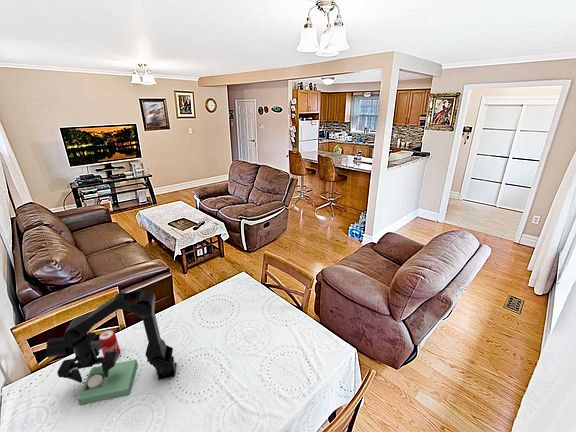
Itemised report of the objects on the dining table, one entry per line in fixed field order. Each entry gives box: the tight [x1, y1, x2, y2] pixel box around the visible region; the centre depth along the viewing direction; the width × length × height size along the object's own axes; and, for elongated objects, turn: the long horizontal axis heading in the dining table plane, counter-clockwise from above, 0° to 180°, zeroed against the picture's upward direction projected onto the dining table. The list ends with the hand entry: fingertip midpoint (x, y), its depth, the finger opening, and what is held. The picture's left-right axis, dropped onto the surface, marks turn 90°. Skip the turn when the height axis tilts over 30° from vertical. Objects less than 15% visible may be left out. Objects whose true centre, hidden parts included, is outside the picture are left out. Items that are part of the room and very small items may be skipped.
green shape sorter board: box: [77, 359, 139, 406], centre depth 114 cm, size 17×14×3 cm
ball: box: [88, 375, 104, 389], centre depth 112 cm, size 5×5×5 cm
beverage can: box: [98, 329, 121, 357], centre depth 124 cm, size 6×6×12 cm
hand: (94, 378), depth 111 cm, fingers open, 9 cm apart
